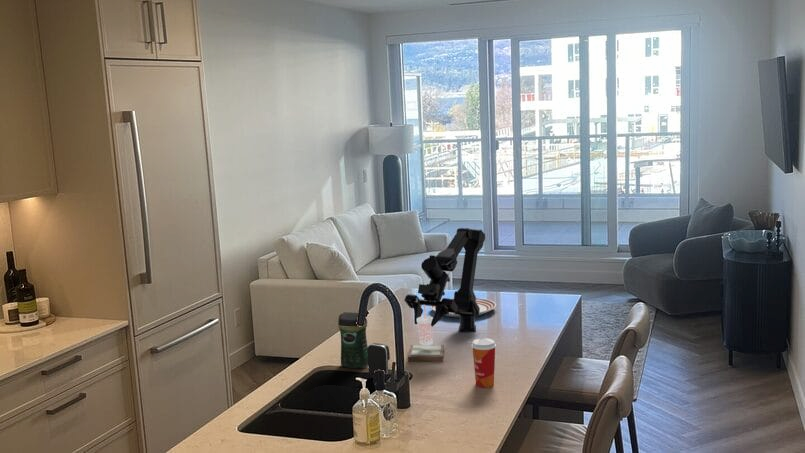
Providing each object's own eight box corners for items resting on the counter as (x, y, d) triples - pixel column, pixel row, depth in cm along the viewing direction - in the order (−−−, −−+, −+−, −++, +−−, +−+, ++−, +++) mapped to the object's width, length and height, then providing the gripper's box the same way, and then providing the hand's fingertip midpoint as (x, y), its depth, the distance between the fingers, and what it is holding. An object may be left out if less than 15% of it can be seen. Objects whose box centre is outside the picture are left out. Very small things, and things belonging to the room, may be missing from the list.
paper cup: (470, 380, 249) (469, 338, 246) (494, 379, 249) (493, 337, 247) (475, 390, 241) (473, 346, 239) (499, 388, 242) (498, 344, 239)
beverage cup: (428, 339, 277) (426, 301, 275) (438, 343, 272) (436, 304, 270) (414, 343, 274) (412, 304, 271) (424, 347, 269) (422, 308, 266)
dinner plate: (433, 303, 342) (433, 295, 341) (496, 302, 338) (496, 295, 337) (427, 321, 315) (427, 313, 314) (495, 321, 311) (495, 313, 311)
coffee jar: (372, 362, 270) (369, 310, 267) (363, 370, 263) (360, 317, 260) (347, 360, 274) (344, 308, 270) (337, 368, 266) (334, 315, 263)
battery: (392, 376, 256) (390, 343, 254) (386, 380, 252) (385, 347, 250) (373, 374, 259) (371, 341, 257) (368, 378, 255) (366, 344, 253)
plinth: (410, 350, 280) (410, 344, 280) (444, 350, 279) (444, 344, 279) (408, 362, 268) (407, 356, 268) (443, 361, 267) (442, 355, 267)
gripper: (405, 272, 277) (391, 310, 270) (452, 276, 267) (439, 316, 260) (417, 288, 285) (403, 326, 278) (463, 292, 276) (450, 332, 268)
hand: (423, 324), depth 271 cm, fingers closed on beverage cup, 6 cm apart
